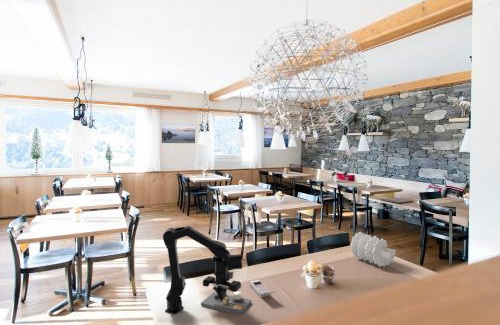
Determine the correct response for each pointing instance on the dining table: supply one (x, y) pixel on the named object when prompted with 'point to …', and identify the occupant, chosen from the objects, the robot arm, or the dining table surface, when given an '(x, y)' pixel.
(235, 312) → the control panel
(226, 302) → the wood grain cube
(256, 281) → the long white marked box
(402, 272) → the dining table surface
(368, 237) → the spiral staircase
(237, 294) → the push button
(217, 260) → the robot arm
